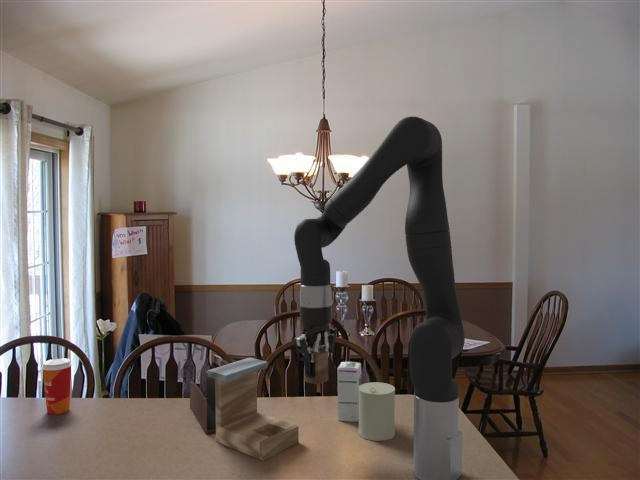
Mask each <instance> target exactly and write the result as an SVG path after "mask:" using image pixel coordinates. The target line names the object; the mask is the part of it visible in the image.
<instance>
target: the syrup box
mask: <svg viewBox="0 0 640 480" xmlns="http://www.w3.org/2000/svg"><path fill="white" fill-rule="evenodd" d="M360 385H362V363H361V362H357V361H341V362H340V364H339V365H338V366H337V419H338V421H342V422H351V423H352V422H353V423H359V389H358V388H359V386H360Z"/></svg>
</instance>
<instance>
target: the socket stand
mask: <svg viewBox="0 0 640 480" xmlns="http://www.w3.org/2000/svg"><path fill="white" fill-rule="evenodd" d="M268 365H269V362H268V361H266V360H261V359H257V358H253V357H246V358H243V359H240V360H237V361H234V362H231V363H229V364H227V365H223V366H218V367H217V366H216V367H214V368H211V369H207V371H208V377H211V378H214V379H215V405H216V433H215V441H216V442H217V444H218V443H219V444H221V445H224V446H226V447H228V448H231V449H233V450H236V451H238V452H241V453H243V454H245V455H248V456H250V457H253V458H256V459H258V460H261V461H262V462H264V461H266V460H268V459H271V457H274V456H275V455H278V454H279V453H281V452H283V451H285V450H287V449H288V448H291V447H292V446H294V445H297V444H298V443H299V440H300V439H299V438H300V437H299V434H300V433H299V427H300V426H299V425H297V424H294V423H291V422H288V421H285V420H282V419H278V418H275V417H273V416H270V415H266V414H263V413H260V412H258V382H257V379H258V378H257V377H258V376H257V372H259V371H262V370H264V369H268V367H269V366H268Z"/></svg>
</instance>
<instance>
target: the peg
mask: <svg viewBox="0 0 640 480" xmlns="http://www.w3.org/2000/svg"><path fill="white" fill-rule="evenodd" d="M309 357H311V352H309ZM303 362H304V361H303ZM314 362H315V377H314V378H308V377H306V374H305V362H304V363H303V364H304V368H303V369H304V382H305V383H309V384H313V385H317V386H319V385H321V384H323V383H325V382H328V381H329V357H328V351H323V349H322V350H318V352H317V353H316V354H315V361H314Z"/></svg>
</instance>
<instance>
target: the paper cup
mask: <svg viewBox="0 0 640 480" xmlns="http://www.w3.org/2000/svg"><path fill="white" fill-rule="evenodd" d="M72 365H73V363H72V361H71V359H70V358H66V357H65V358H64V357H61V358H52V359H48V360H45V361H44V362H43V363H42V366H41V370H42V375H43V387H44V398H45V404H46V411H47V413H46V414H49V415H61V414H64V413H67V412H68V411H69V410H70V404H71V403H70V401H71V373H72V372H71V371H72V370H71V369H72Z"/></svg>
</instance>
